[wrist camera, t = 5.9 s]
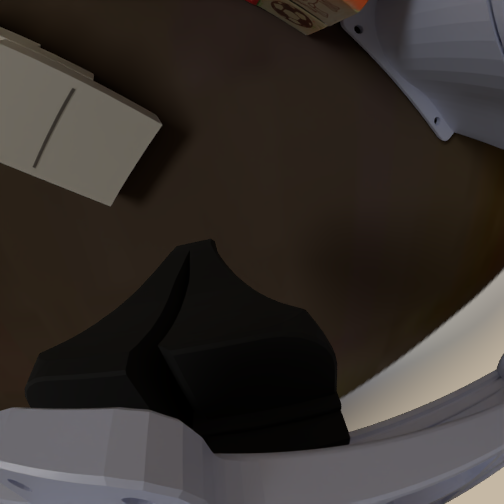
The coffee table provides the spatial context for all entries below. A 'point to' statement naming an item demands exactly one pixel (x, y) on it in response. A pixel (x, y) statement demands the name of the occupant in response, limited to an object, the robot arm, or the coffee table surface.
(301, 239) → the coffee table surface
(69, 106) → the domino
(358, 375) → the coffee table surface
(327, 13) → the stack of blocks
